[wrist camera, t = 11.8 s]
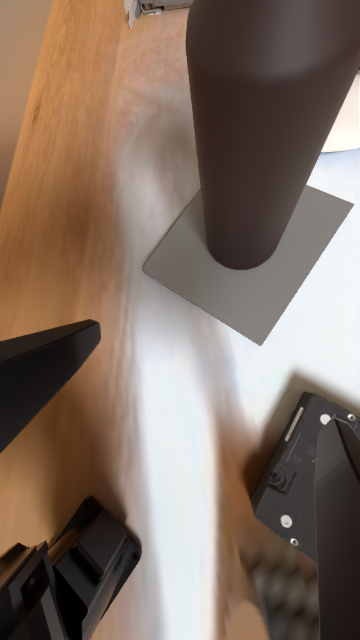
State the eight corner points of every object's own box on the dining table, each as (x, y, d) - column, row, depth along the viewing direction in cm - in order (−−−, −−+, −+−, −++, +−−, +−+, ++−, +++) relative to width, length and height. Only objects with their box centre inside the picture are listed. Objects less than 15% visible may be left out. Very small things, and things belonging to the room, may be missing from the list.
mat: (260, 346, 21) (262, 344, 20) (144, 273, 25) (141, 268, 24) (348, 211, 22) (354, 204, 21) (226, 161, 26) (226, 153, 25)
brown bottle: (227, 200, 24) (257, -543, 4) (290, 224, 22) (796, -826, 3) (194, 254, 23) (61, -341, 4) (257, 283, 21) (608, -546, 2)
